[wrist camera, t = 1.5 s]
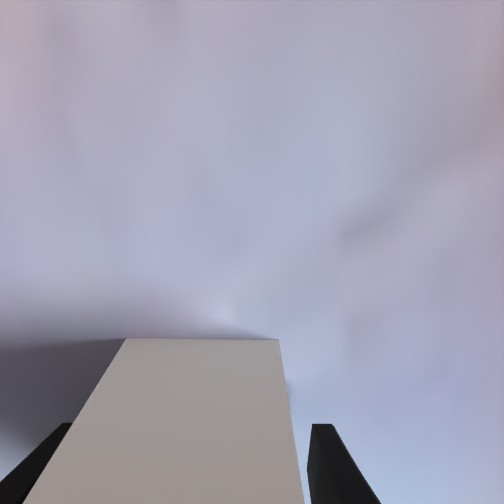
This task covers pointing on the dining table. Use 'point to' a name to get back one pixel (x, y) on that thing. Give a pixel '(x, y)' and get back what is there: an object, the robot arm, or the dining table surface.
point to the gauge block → (180, 429)
